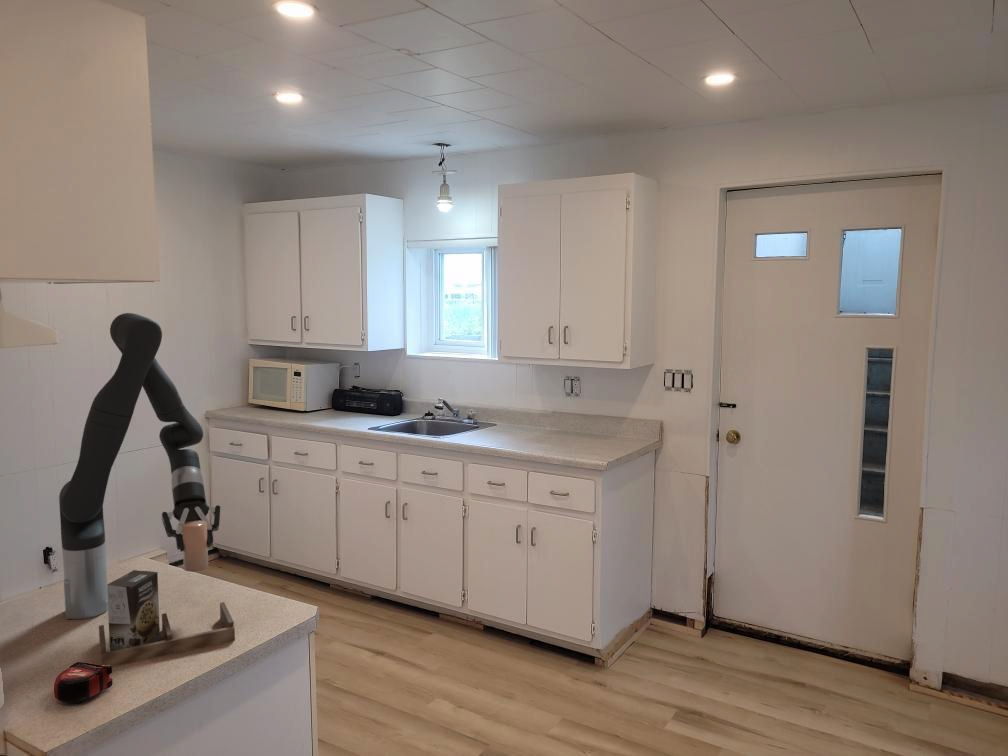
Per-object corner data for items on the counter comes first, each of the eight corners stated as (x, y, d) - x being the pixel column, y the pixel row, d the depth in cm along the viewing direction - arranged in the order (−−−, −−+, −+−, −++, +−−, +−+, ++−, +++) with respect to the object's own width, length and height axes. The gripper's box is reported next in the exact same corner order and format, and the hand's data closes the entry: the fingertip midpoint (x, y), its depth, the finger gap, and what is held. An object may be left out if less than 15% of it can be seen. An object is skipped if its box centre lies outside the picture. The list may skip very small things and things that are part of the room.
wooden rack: (101, 668, 158) (101, 650, 157) (99, 642, 169) (98, 625, 169) (234, 640, 171) (234, 623, 171) (224, 617, 183) (224, 602, 182)
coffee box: (134, 657, 163) (131, 587, 161) (108, 654, 164) (105, 584, 162) (161, 638, 172) (158, 571, 170) (136, 635, 173) (133, 568, 171)
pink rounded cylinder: (185, 573, 180) (183, 529, 178) (182, 565, 185) (180, 522, 183) (209, 569, 183) (208, 525, 181) (206, 561, 187) (205, 519, 186)
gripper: (157, 484, 185) (164, 545, 176) (219, 477, 192) (228, 536, 183) (156, 499, 190) (163, 559, 181) (216, 492, 197) (225, 550, 188)
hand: (195, 547), depth 182 cm, fingers closed on pink rounded cylinder, 5 cm apart
